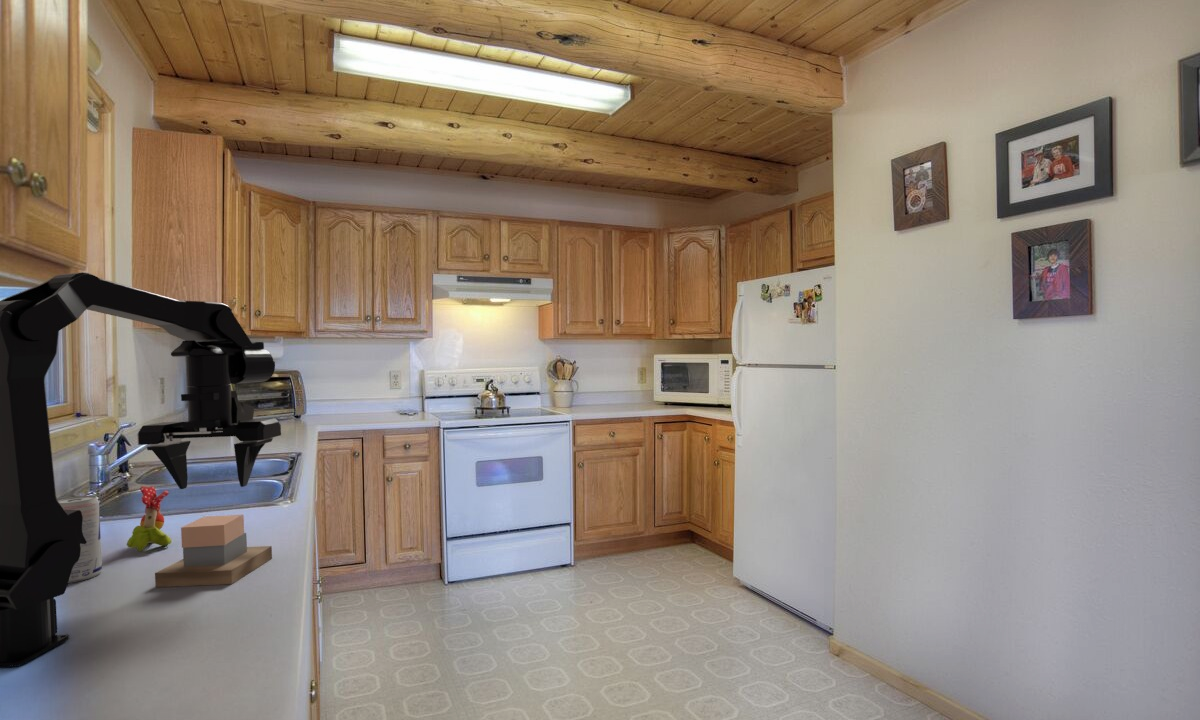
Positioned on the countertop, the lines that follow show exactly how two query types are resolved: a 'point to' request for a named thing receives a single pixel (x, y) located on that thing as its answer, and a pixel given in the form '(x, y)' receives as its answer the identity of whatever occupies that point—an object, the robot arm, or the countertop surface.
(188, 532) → the terracotta brick
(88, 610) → the countertop surface
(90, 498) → the energy drink
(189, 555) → the gray brick
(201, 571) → the walnut tower base
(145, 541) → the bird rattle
